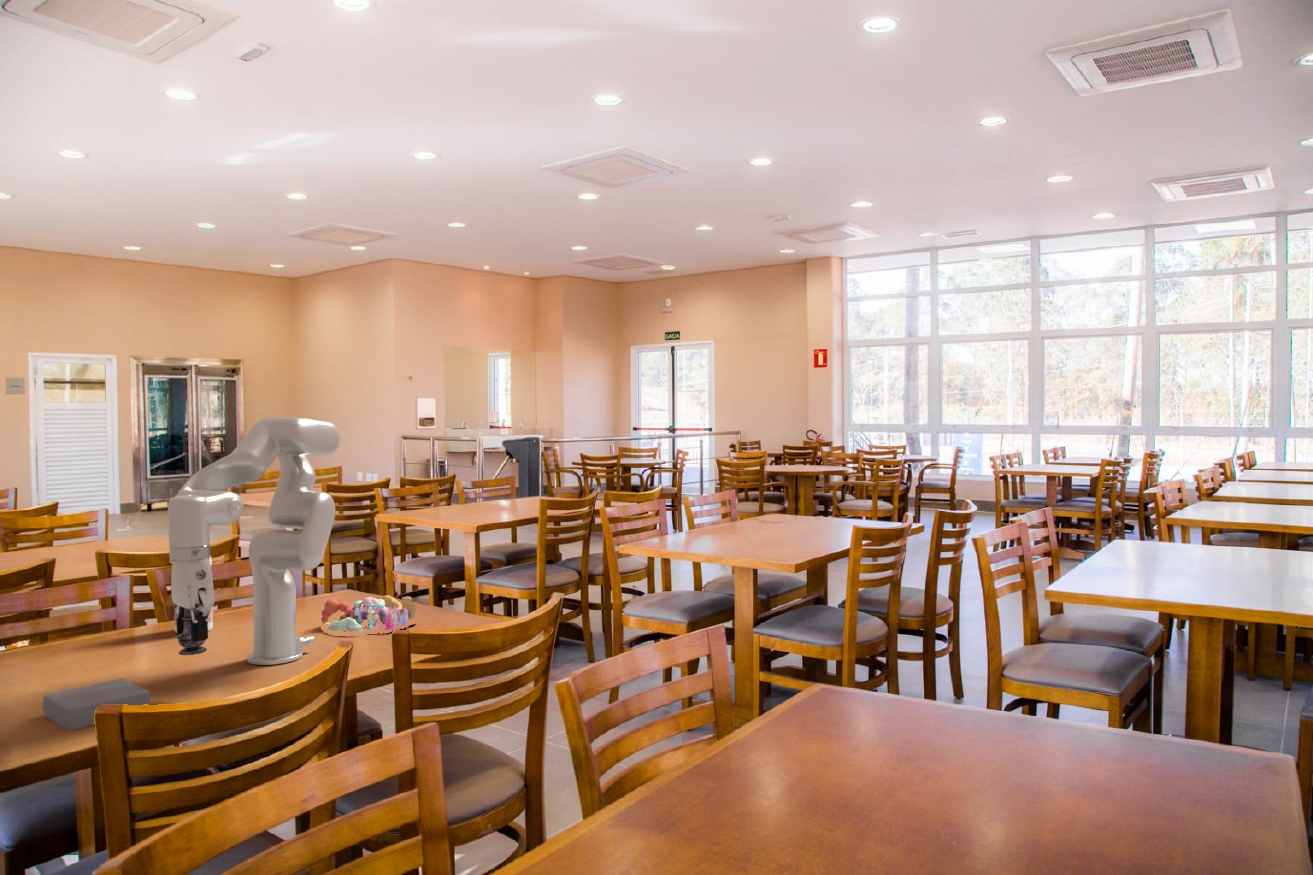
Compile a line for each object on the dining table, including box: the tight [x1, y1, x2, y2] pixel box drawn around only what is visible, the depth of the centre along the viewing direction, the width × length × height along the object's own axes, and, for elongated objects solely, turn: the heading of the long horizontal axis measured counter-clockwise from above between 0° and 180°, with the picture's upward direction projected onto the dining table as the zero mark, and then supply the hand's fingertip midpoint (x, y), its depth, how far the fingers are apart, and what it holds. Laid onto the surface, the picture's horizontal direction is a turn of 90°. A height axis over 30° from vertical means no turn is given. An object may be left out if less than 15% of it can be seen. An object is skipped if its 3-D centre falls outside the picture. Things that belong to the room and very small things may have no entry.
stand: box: [43, 678, 151, 732], centre depth 169 cm, size 14×14×4 cm
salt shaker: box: [176, 605, 208, 656], centre depth 180 cm, size 6×6×12 cm
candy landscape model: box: [321, 594, 419, 632], centre depth 241 cm, size 25×24×9 cm
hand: (192, 636), depth 180 cm, fingers closed on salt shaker, 5 cm apart
